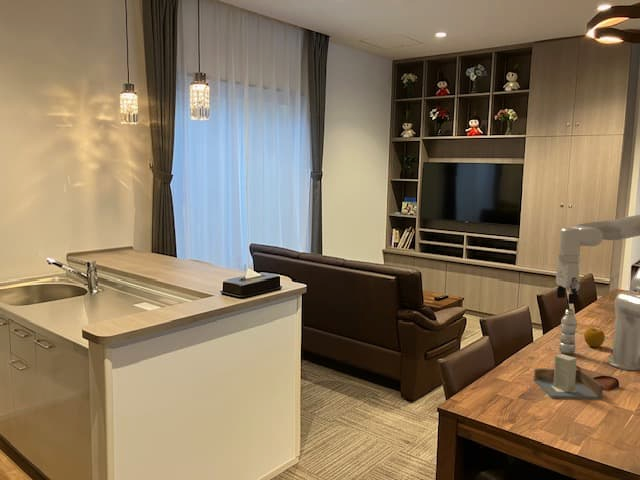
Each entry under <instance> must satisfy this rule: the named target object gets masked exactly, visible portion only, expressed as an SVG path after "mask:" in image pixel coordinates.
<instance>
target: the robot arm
mask: <svg viewBox="0 0 640 480" xmlns="http://www.w3.org/2000/svg"><path fill="white" fill-rule="evenodd" d="M639 236H640V214H637V215H632V216H631V215H630V216H626V217H622V218H617V219H607V220H601V221H600V220H599V221H590V222H584V223H577V224H574V225H573V226H571V227H563V228H561V229H560V234H559V249H558V262H557V268H556V274H555V283H556V298H559V299H564V298H566V289H568V291H569V292H568V301H567V302H568V304H570V305H576V304H578V295H579V291H580V287H581V284H580V282H579V281H580V280H579V279H580V268H579V267H580V266H579V264H580V262H581V261H580V260H581V259H580V257H581V246H582V247H597V246H598V245H600V244H601V243H602V242H603V240H604V241H622V240H626V239H630V238H631V239H632V238H635V237H639ZM632 277H633V278H632V279H631V281H630V284H631V287H632V289H633V290H635V291H636V292H639V293H636V292H633V291H627V290H626V291H622V292H619V293H618V294H616V297H615V299H614V310H615V312H614V313H615V323H614V324H615V325H614V333H613V334H614V336H613V345H612V357H609V358H608V359H607V363H608V365H610V366H611V367H614V368H617V369H620V370H625V371H640V267H639V268H638V269H637V270H636V272H635V274H634V275H633V276H632Z"/></svg>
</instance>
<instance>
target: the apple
mask: <svg viewBox="0 0 640 480" xmlns="http://www.w3.org/2000/svg"><path fill="white" fill-rule="evenodd" d="M605 337H606V336H605V332H604V331H603V330H602V329H600V328H592V327H591V328H587V329H586V330H585V331H584V334H583V338H584V342H585V343H586V344H587V345H588V346H589V347H592V348H599V347H601V346H602V345H603V344H604V341H605Z"/></svg>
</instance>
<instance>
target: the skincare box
mask: <svg viewBox="0 0 640 480" xmlns="http://www.w3.org/2000/svg"><path fill="white" fill-rule="evenodd" d="M576 366H577V358H576V357H573V356H569V355H568V354H566V353H561V354H555V355H554V368H553V369H554V387H556V388H558V389H561V390H563V391H566V392H570V391H573V390H575V379H576Z"/></svg>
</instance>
